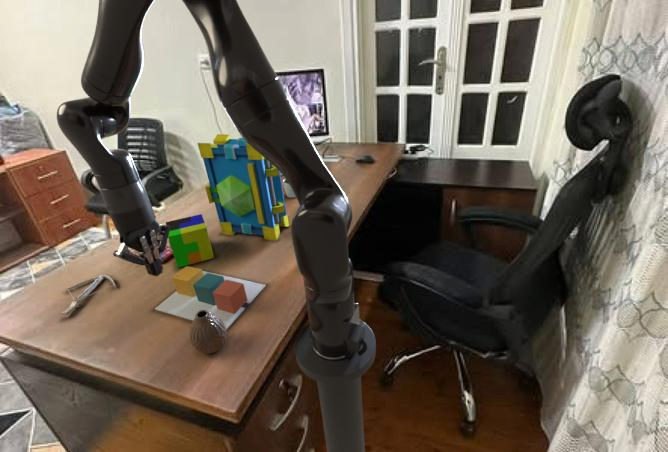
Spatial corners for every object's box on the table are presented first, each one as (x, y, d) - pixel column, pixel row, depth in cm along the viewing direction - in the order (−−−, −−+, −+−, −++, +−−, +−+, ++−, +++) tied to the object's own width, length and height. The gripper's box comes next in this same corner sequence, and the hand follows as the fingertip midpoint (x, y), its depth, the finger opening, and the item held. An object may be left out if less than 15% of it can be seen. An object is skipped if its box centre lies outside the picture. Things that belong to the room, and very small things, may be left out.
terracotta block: (247, 300, 83) (243, 283, 81) (234, 314, 79) (229, 297, 77) (230, 295, 85) (226, 279, 83) (217, 309, 81) (212, 292, 79)
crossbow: (82, 281, 97) (79, 275, 96) (127, 278, 97) (124, 271, 96) (39, 319, 83) (36, 312, 82) (92, 315, 83) (89, 308, 82)
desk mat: (265, 285, 88) (265, 284, 88) (225, 330, 75) (225, 329, 75) (201, 271, 96) (201, 270, 96) (155, 309, 83) (154, 308, 83)
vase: (220, 360, 68) (209, 328, 64) (188, 358, 70) (175, 325, 65) (235, 334, 74) (225, 302, 70) (205, 332, 76) (194, 300, 71)
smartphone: (147, 240, 112) (180, 249, 105) (148, 243, 112) (181, 251, 106) (126, 251, 106) (159, 261, 100) (127, 254, 106) (160, 264, 100)
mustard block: (206, 285, 90) (201, 269, 87) (193, 297, 86) (187, 281, 83) (191, 281, 92) (186, 266, 89) (177, 293, 88) (171, 277, 85)
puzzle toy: (208, 242, 110) (201, 214, 105) (214, 257, 102) (206, 227, 97) (174, 251, 106) (165, 222, 101) (177, 267, 98) (167, 236, 93)
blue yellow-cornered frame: (238, 217, 124) (218, 132, 109) (297, 223, 116) (284, 133, 102) (214, 237, 112) (188, 145, 98) (277, 245, 105) (260, 147, 90)
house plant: (266, 201, 134) (258, 160, 126) (280, 187, 145) (274, 149, 138) (300, 203, 130) (294, 161, 122) (312, 189, 141) (308, 149, 133)
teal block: (228, 292, 86) (223, 276, 84) (214, 305, 82) (209, 289, 80) (212, 288, 88) (207, 272, 86) (198, 301, 84) (192, 284, 82)
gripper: (111, 220, 63) (144, 296, 71) (167, 191, 73) (191, 260, 81) (84, 216, 65) (119, 289, 74) (142, 189, 76) (167, 255, 84)
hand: (157, 273), depth 77 cm, fingers closed
